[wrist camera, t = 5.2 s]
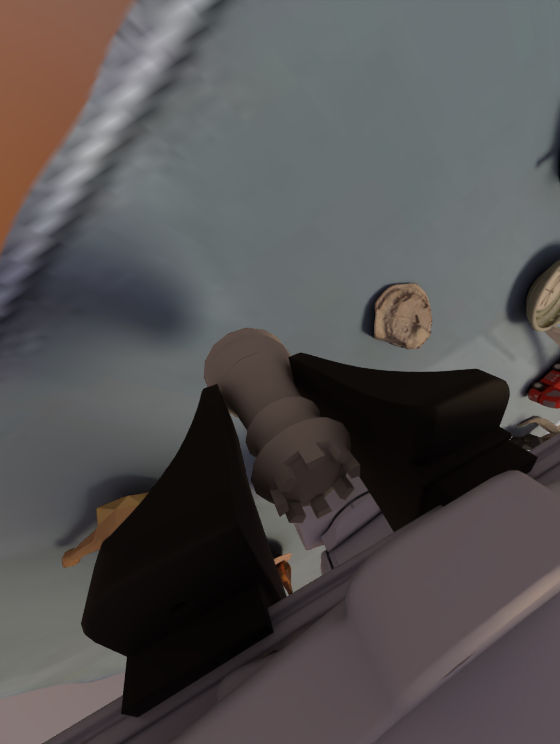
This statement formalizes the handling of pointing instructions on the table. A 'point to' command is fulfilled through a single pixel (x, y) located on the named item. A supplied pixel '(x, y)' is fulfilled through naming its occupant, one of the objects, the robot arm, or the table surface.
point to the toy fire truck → (547, 389)
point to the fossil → (403, 316)
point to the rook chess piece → (281, 425)
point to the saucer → (545, 300)
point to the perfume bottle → (284, 571)
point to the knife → (554, 334)
